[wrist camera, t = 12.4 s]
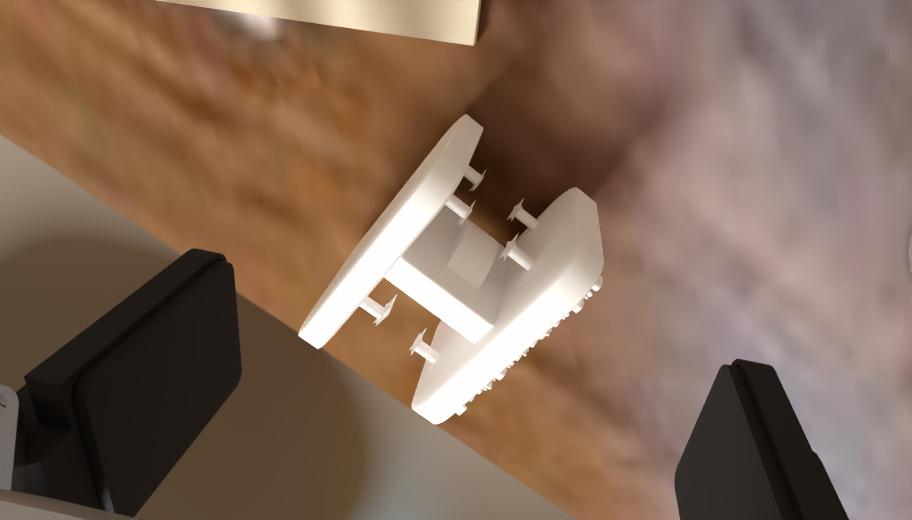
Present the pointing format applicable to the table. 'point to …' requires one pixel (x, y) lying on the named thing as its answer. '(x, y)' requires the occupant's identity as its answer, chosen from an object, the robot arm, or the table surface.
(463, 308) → the cable organizer
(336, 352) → the table surface
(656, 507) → the table surface
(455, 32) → the board
